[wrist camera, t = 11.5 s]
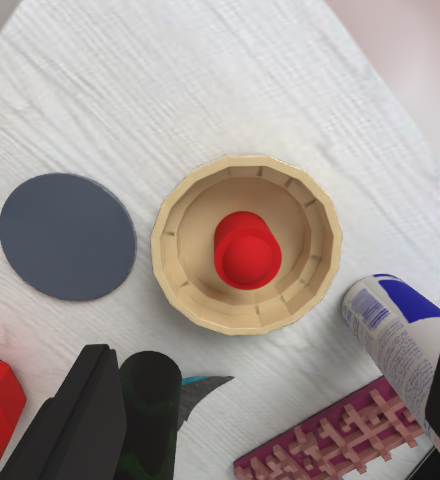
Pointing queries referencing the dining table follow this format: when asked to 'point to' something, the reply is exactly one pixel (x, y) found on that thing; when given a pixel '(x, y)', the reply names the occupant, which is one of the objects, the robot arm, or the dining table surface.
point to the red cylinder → (245, 251)
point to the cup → (149, 417)
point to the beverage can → (397, 337)
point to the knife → (196, 393)
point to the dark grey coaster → (68, 236)
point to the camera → (428, 467)
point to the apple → (9, 404)
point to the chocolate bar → (336, 439)
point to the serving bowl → (280, 224)
